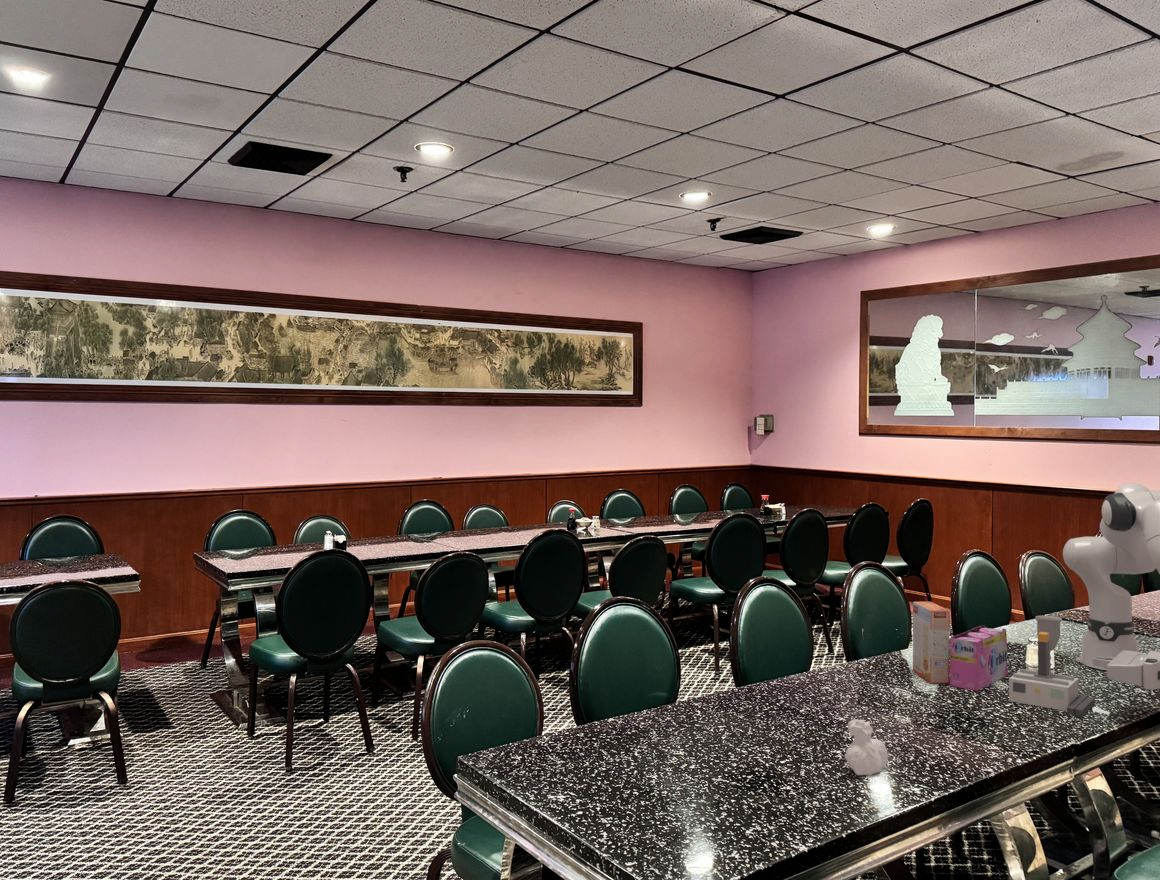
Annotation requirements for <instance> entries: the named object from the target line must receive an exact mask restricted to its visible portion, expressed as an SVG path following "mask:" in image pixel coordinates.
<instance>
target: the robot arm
mask: <svg viewBox="0 0 1160 880" xmlns="http://www.w3.org/2000/svg"><path fill="white" fill-rule="evenodd" d="M1101 516H1102V518H1101V520H1100V522H1099V530H1100V534H1101V535H1102V536H1081V537H1074V538H1070V539H1068V540H1067V541H1066V543H1065V544H1064V547H1063V550H1062V558H1063V559H1062V560H1063V561H1064V563H1065V565H1066V566H1067V567H1068V568H1069V569H1070V570H1071V571H1073V572H1074V573H1075V574H1076V575H1077V576H1079V578H1080V579H1081V580H1082V582H1083V583H1084V585H1085V587H1086V589H1087V594H1088V595H1087V596H1088V604H1089V617H1087V629H1088V630H1087V632H1086V633H1084V634H1083V635H1082V636H1081V637H1082V640H1081V656H1078V657H1075V662H1076V661H1077V663H1079V662H1080V664H1083V665H1084V666H1087V667H1090V668H1093V669H1098V670H1103V671H1106V677H1107V679H1109V680H1111V681H1115V682H1119V683H1122V684H1127V685H1131V686H1138V687H1139V686H1140V687H1141V686H1142V688H1143V689H1145V690H1148V691H1149V690H1150V691H1155V690H1157V689H1158V690H1160V651H1155V650H1149V651H1148V652H1147V653H1145V652H1141V651H1139V641H1138V640H1137V639H1136V637H1135V635H1134V633H1135V625H1134V620H1133V599H1132V595H1131V594H1130V592H1129V591H1128V590H1127V589H1125V588H1124V587H1121V586H1120V585H1117V584H1115V583H1113V582H1112V580H1111V574H1112V575H1114V574H1117V575H1139V574H1146V573H1152V572H1154V571H1155V570H1157V573H1158V574H1159V575H1160V490H1153V489H1152V490H1150V489H1149V488H1148V487H1147V486H1145V485H1142V484H1141V483H1135V482H1130V483H1125V484H1123V485H1121V486H1119V487H1118V489H1117V490H1116V491H1115V492H1114V493H1112V494H1108V495H1107V496H1106V497H1104V500H1103V501H1102V504H1101Z"/></svg>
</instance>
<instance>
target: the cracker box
mask: <svg viewBox="0 0 1160 880" xmlns="http://www.w3.org/2000/svg"><path fill="white" fill-rule="evenodd" d="M950 611H951V610H949V609H947V608H946V607H944V606H941V605H939V604H936V603H934V602H933V601H913V602H912V672H913V673H915V674H917V675H918V676H919V677H921V678H922V679H924V680H925V681H926V682H927V683H929V684H945V685H946V684H950V631H951V630H950V628H951V627H950V625H951V624H950V622H951V620H950V619H951V618H950V616H951V615H950V614H951V613H950Z"/></svg>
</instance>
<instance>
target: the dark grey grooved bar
mask: <svg viewBox="0 0 1160 880" xmlns="http://www.w3.org/2000/svg"><path fill="white" fill-rule="evenodd" d="M1095 700H1096V699H1095V697H1092V696H1089V694H1086V693H1081V694H1080V695H1078V698H1077V699H1076V700H1075V701H1074V702H1072V703H1071V704H1070V705H1069V706H1068V707H1067V711H1066V714H1067V715H1071V716H1076V717H1080V718H1081V717H1084V715H1085V714H1086V713H1087V712H1088V711H1089V710H1090V709H1092V707H1093V706H1094V705H1095V704H1096V703H1095Z"/></svg>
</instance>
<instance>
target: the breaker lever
mask: <svg viewBox="0 0 1160 880" xmlns="http://www.w3.org/2000/svg"><path fill="white" fill-rule="evenodd" d="M1037 671H1038V672H1037V673H1036V674H1034V676H1035V677H1041V678H1048V679H1052V678H1053V674H1051V673H1049V633H1047V632H1040V633H1038V635H1037Z"/></svg>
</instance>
